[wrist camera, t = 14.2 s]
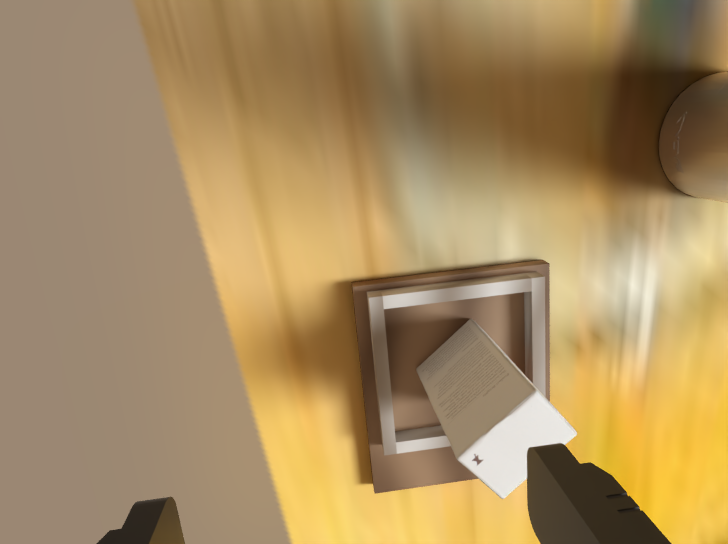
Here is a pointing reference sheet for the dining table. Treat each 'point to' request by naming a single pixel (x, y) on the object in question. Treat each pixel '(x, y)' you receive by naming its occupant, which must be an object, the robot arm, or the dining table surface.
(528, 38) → the dining table surface
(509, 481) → the skincare box
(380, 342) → the brown shallow box
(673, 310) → the dining table surface
